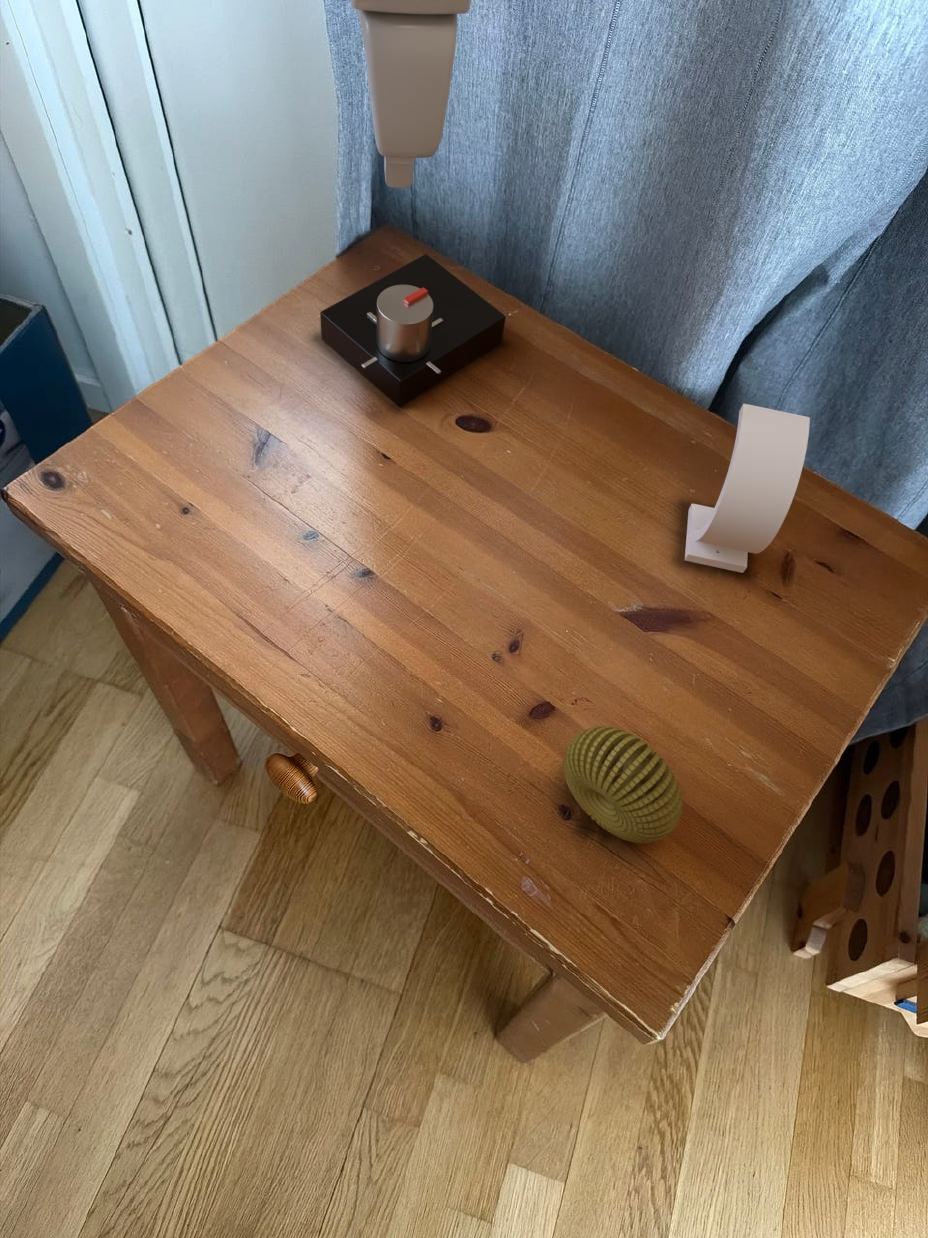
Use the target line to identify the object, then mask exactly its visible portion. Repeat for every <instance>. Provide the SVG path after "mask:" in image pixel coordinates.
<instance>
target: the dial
mask: <svg viewBox="0 0 928 1238" xmlns="http://www.w3.org/2000/svg"><path fill="white" fill-rule="evenodd" d="M432 318H433V301H432V299H431V297H430V296H429V295H428V291H427V290H426V289H425V288H424V287H423V288H421V289H420V288H418V287H415V286H411V285H395V286H392V287H389V288H387V289H385V290H384V291H383V292H381V294H380V295H379V297H378V299H377V330H376V343H377V347H378V349H379V351H380V352H381V353H382V354H383V355H384V356H386V357H387V358H389V359H391V360H394V361H398V362H412V361H416V360H419V359H421V358H422V357H424V356H425V355H426V354H427V352H428V351H429V349H430V344H431V331H432Z"/></svg>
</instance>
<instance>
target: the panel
mask: <svg viewBox="0 0 928 1238" xmlns="http://www.w3.org/2000/svg"><path fill="white" fill-rule="evenodd" d="M395 285H411V286H415V287H418V288H420V289H421V288H423V287H424V288H425V289H426V290H427V291H428V295H429V296H430V297H431V299H432V301H433V318H432V331H431V344H430V349H429V351H428V352H427V354H426V355H425V356H424V357H422V358H421V359H419V360H416V361H412V362H398V361H394V360H391V359H389V358H387V357H386V356H384V355H383V354H382V353H381V352H380V351H379V349H378V347H377V343H376V330H377V299H378V297H379V295H380V294H381V292H383V291H384V290H385V289H387V288H389V287H392V286H395ZM319 318H320V319H319V320H320V336H321V340H322V342H324V343H325V344H326V345H327V346H329V348H331V350H333V351H334V352H335V353H337V355H339V356H340V357H341V358H342V359H343V360H344V361H345V362H346V363H348V364H349V365H350V366H351V367H352V368H353V369H355V370H356V371H357V372H358V373H359V374H360V375H361V376H363V377H364V378H365V379H366V380H367V381H368V382H369V383H370V384H371V385H373V386H374V387H375V388H376V389H378V391H380V392H381V393H382V394H383V395H384V396H386V397H387V398H388V399H389V400H390V401H391V402H392V403H394V404H395V405H396V406H397V407H398V408H402V407H403V406H404V405H406V404H407V403H409V402H410V401H412V400H414V399H416V398H417V397H418V396H420V395H421V394H423V393H425V392H426V391H428V390H430V389H431V388H432V387H434V386H437V384H439V383H441V382H442V381H443V380H446V379H447V378H448V377H450V376H452V375H454V374H455V373H456V372H458V371H460V370H461V369H462V368H464V367H466V366H467V365H469V364H471V363H472V362H473V361H476V359H479V358H480V357H482V356H483V355H485V354H487V352H489V351H491V350H493V349H494V348H495V347H498V346H499V345H500V344H502V342H503V337H504V336H503V335H504V330H505V323H506V318H507V316H506V315H505V314H504V313H502V312H501V311H499V310H498V309H497V307H495V306H493V304H492V303H489V302H488V301H487V300H486V299H484V298H483V297H482V296H481V295H479V294H478V293H477V292H475V290H473V289H472V288H470V286H468V285H467V284H465V283H464V282H463V281H461V279H459V278H458V277H457V276H455V275H454V274H453V273H451V272H450V271H449V270H448V269H447V268H445V267H444V266H442V265H441V264H440V263H438V261H436V260H435V259H434V258H432V257H431V256H430V255H429V254H427V253H425V254H423V255H420V256H419V257H417V258H416V259H414V260H412V261H410V262H408V263H407V264H404V265H403V266H401V267H399V268H397V269H396V270H394V271H392V272H390V273H388V274H387V275H385V276H383V277H381V278H379V279H377V280H376V281H374V282H372V283H370V284H368V285H366V286H365V287H363V288H361V289H359V290H357V291H355V292H353V293H352V294H351V295H348V296H347V297H344V298H343V299H341V300H339V301H337V302H336V303H333V304H332V305H330V306H328V307H326V308H325V309H323V310H321V311H320V312H319Z"/></svg>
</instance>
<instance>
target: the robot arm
mask: <svg viewBox="0 0 928 1238" xmlns="http://www.w3.org/2000/svg"><path fill="white" fill-rule="evenodd" d="M349 1H350V5H351V7H352V9H354V10H356V11H357V14H358V15H357V16H358V18H359V22H360V29H361V33H362V39H363V48H364V54H365V55H364V56H365V62H366V71H367V72H366V73H367V80H368V90H369V98H370V108H371V109H370V110H371V116H372V118H371V119H372V124H373V132H374V139H375V144H376V148H377V151H378V153H379V155H380V156H382V157H383V161H384V162H383V171H384V180H385V181H384V182H385V184H386V186H387V187H388V188H390V189H408V188H410V187H411V186H412V184H413V183H414V182H413V181H414V165H415V161H416V159H428V158H431V157H434V155H435V154H436V153H437V151H438V149H439V146H440V144H441V141H442V138H443V133H444V127H445V123H446V117H447V116H446V115H447V109H448V102H449V97H450V90H451V84H452V83H451V82H452V76H453V71H454V70H453V69H454V63H455V62H454V61H455V55H456V46H457V36H458V35H457V34H458V15H463V14H467V13H468V12H469V11H470V8H471V3H472V0H349Z"/></svg>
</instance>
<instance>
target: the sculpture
mask: <svg viewBox="0 0 928 1238" xmlns="http://www.w3.org/2000/svg"><path fill="white" fill-rule="evenodd" d="M564 752H565V753H564V756H563V763H562V764H563V766H562V768H563V776H564V779H565V781H566V782H565V783H566V785H567V786H568V787H567V788H568V790H569V792H570V793H571V795H572V797H573V798H574V799H575V801H576V802H577V804H578V805H579V806H580V808H581V809H582V810H583V811H584V813H585V814H587V816H590V819H591V820H593V822H595V823H596V824H597V825H598V826H599V827H601V828H602V829H604V830H605V831H606V832H608V833H610V834H611V835H613V836H615V837H617V838H619V839H621V840H624V841H627V842H631V843H634V844H636V843H637V844H651V843H655V842H658V841H661V840H663V839H664V838H666V837H667V836H669V835H670V834H671V833H672V832H673V830H674V829H675V828H676V827H677V825H678V823H679V821H680V819H681V815H682V811H683V795H682V790H681V787H680V784H679V782H678V780H677V778H676V775H675V774H674V772H673V771H672V769H671V768H670V766H669V765H668V763H667V761H666V760H664V758H663V757H661V755H660V754H659V753H658V752H657V751H655V749H654V748H653V747H652V746H650V745H648V743H647V742H646V741H645V740H642V739H641V738H640V737H638V736H637V735H634V734H633V733H631V732H630V731H627V730H625V729H621V728H618V727H615V726H605V725H599V726H598V725H597V726H593V727H590V728H586V729H585V730H583V731H581V732H579V733H578V734H577V735H575V736H573V739H572V740H571V741H570V743H569V744H568V745H567V748H566V749H565V751H564ZM609 770H610V771H609ZM618 774H619V775H618Z"/></svg>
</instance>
